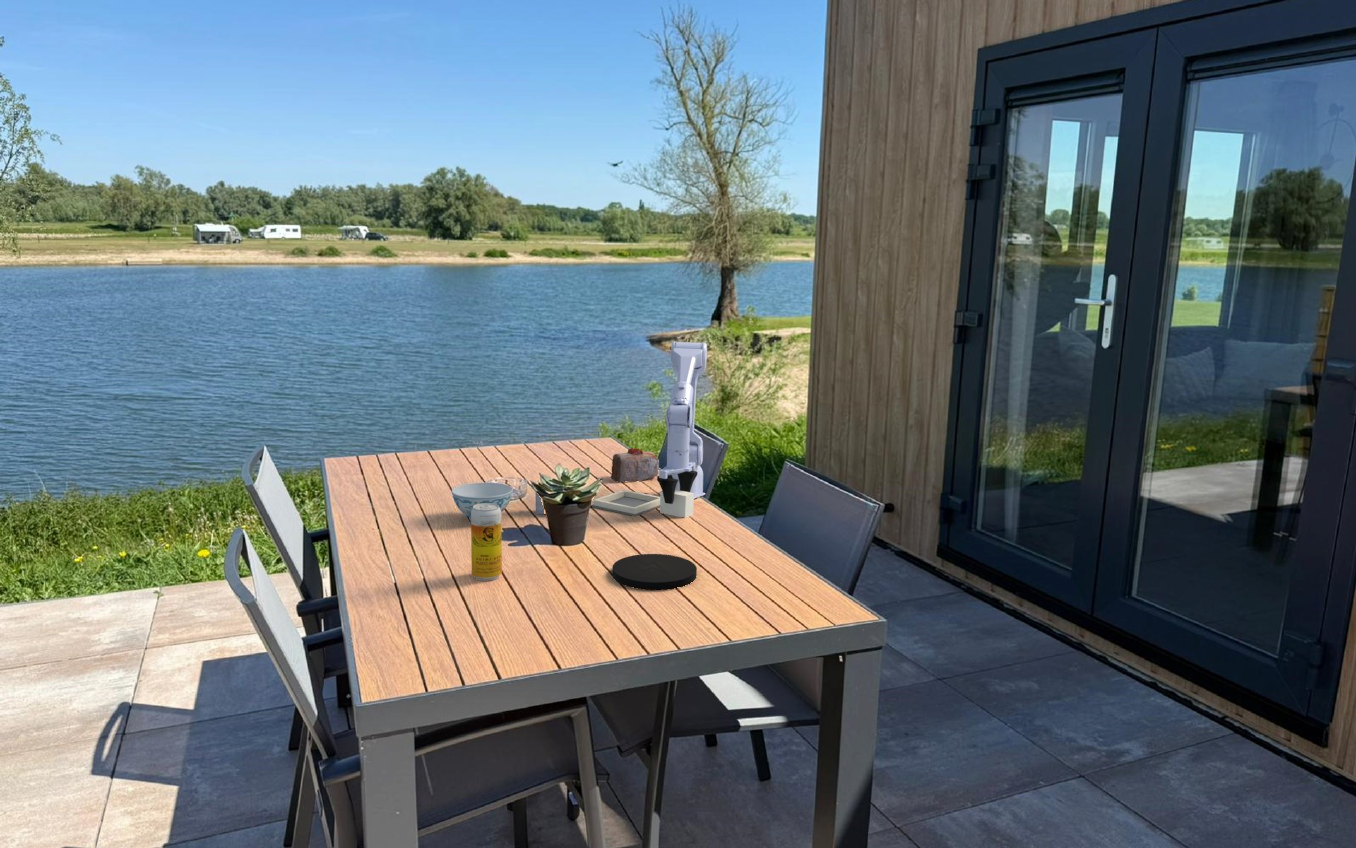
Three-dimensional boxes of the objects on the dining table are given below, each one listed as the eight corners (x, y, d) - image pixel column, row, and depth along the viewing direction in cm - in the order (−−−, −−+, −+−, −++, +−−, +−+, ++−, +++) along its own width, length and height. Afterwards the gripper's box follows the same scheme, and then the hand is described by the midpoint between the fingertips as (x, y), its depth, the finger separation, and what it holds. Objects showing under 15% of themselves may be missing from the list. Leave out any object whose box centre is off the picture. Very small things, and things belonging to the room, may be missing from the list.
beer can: (476, 583, 174) (475, 511, 171) (468, 573, 179) (467, 504, 177) (505, 579, 177) (504, 508, 174) (497, 570, 182) (496, 501, 179)
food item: (647, 474, 272) (648, 444, 270) (660, 480, 265) (661, 448, 263) (609, 479, 265) (609, 447, 263) (621, 484, 258) (621, 452, 256)
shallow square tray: (623, 495, 245) (623, 489, 245) (667, 504, 237) (667, 497, 237) (590, 506, 233) (590, 500, 232) (635, 516, 224) (635, 509, 224)
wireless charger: (679, 597, 170) (679, 587, 170) (598, 584, 176) (598, 574, 176) (707, 569, 187) (707, 560, 187) (632, 558, 193) (632, 549, 193)
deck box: (668, 510, 232) (668, 488, 231) (693, 515, 228) (693, 493, 227) (659, 513, 229) (660, 491, 228) (685, 518, 224) (685, 496, 223)
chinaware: (439, 522, 214) (439, 492, 213) (475, 508, 228) (475, 480, 227) (490, 530, 209) (490, 500, 208) (524, 515, 223) (523, 486, 221)
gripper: (675, 456, 217) (674, 508, 219) (705, 447, 229) (704, 497, 231) (652, 452, 221) (651, 504, 223) (683, 444, 233) (682, 493, 235)
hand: (676, 500), depth 227 cm, fingers open, 7 cm apart
